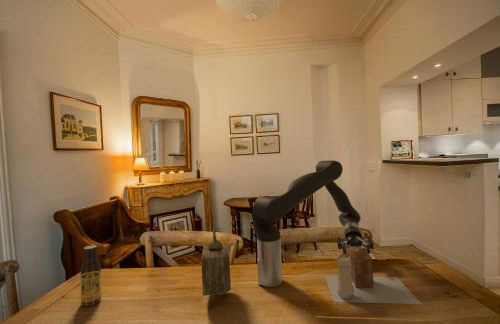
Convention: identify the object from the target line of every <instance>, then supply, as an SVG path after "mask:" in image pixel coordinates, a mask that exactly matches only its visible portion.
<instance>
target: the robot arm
mask: <svg viewBox="0 0 500 324" xmlns="http://www.w3.org/2000/svg"><path fill="white" fill-rule="evenodd" d="M343 169H344V168H343V165H342V163H341V162H340V161H338V160H332V159H331V160H329V159H328V160H320V161H318V162H317V163H316V166H315V171H314V172H309V173H305V174H304V175H301V176H299V177H297V178H296V179H294V180H293V181H292V182H290V184H289V186H288V188H287V191H286V192H285V193H282V194H280V195H279V196H277V197H270V196H259V197H257V198H256V199H255V201H254V202H253V207H252V215H253V216H252V219H253V228H254V232H255V235H256V244H257V247H256V249H257V261H256V262H257V264H256V265H257V285H258V284H259V285H258V286H264V287H267V288H275V287H279V286H280V285H281V284H282V283H283V267H282V266H283V264H282V243H281V242H282V241H281V231H280V229H279V228H278V227H277V226H276V225H275V224H274V223H276V222H277V223H278V221H280V220H282V219H283V218H284V217H285V216H286V215H287V214H288V213H289V212H291V211H292V209H294V208H295V207H296V206H298V205H299V204H300V203H302V202H303V201H305V200H306V199H308V198H309V197H310V196H312V195H314V194H315V193H316V192H318V191H319V190H321V189H322V188H323V187H325V189H326V190H327V191H328V193H329V194H330V196H331V198H332V199H333V202H334V204H335V206H336V208H337V210H338V211H339V212H340V214H339V215H338V220H339V222H340V225H341V226H342V227H343V235H344V238H341V237H340V236H339V237H337V243H336V244H337V249H338V250H341V249H342V253H343V254H344V255H347V249H348V250H349V249H350V248H351V247H356V248H357V247H359V248H361V249H365V251H367V252H368V253H369V254H371V250H374V248H375V246H374V242H373V239H372V238H371V236H367V238H365V237H363V234H362V230H361V228H360V226H359V223H360V222H361V220H362V219H361V214H359V212H358V210H357V209H355V208H354V206H353V205H352V204H351V201H350V199H349V197H348V194H347V193H346V192H345V191H344V190H343V188H341V186H339V185H338V184H336V182H335V181H336V180H337V179H339V178H340V177H341V175H342V174H343Z"/></svg>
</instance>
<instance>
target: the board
mask: <svg viewBox="0 0 500 324" xmlns="http://www.w3.org/2000/svg"><path fill="white" fill-rule="evenodd" d="M324 278H325V280H326V284H327V287H328V289H329V291H330V296H331V298H332V299H333V302H334V303H361V304H362V303H363V304H365V303H366V304H369V303H370V304H400V305H402V304H405V305H407V304H408V305H409V304H410V305H411V304H412V305H422V303H421V301H419V300H418V298H417V297H416V296H415V295H414V294H413V293H412V292H411V290H410V289H408V287H406V286H405V284H404V283H403V282H401V280H400V279H399V278H398V277H397V276H374V275H373V288H356V287H355V285H354V284H353V287H354V294H353V296H352V298H350V299H349V300H348V299H342V298H341V297H340V296H339V295H338V292H337V290H336V286H337V280H338V275H324Z"/></svg>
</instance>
